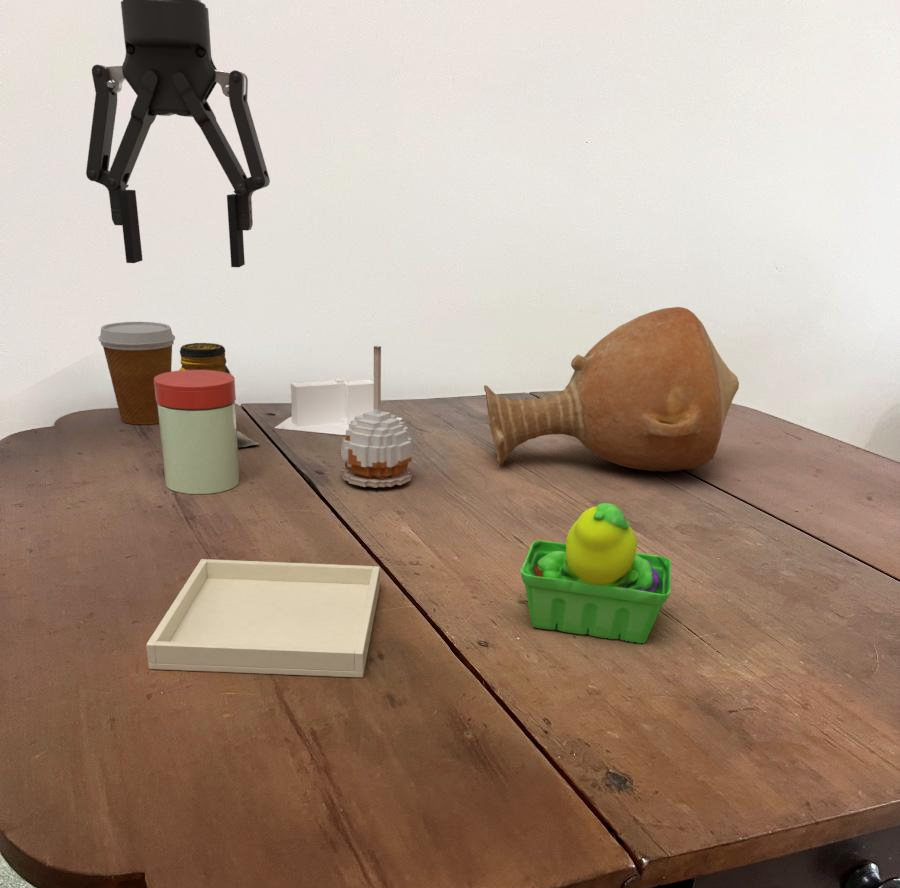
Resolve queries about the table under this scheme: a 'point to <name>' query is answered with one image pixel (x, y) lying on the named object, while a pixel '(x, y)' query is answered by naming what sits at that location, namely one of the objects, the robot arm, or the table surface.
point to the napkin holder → (328, 405)
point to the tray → (269, 619)
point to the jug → (633, 397)
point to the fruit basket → (596, 580)
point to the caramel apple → (377, 444)
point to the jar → (199, 449)
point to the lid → (194, 389)
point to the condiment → (209, 368)
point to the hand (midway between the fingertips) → (186, 263)
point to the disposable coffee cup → (137, 366)
